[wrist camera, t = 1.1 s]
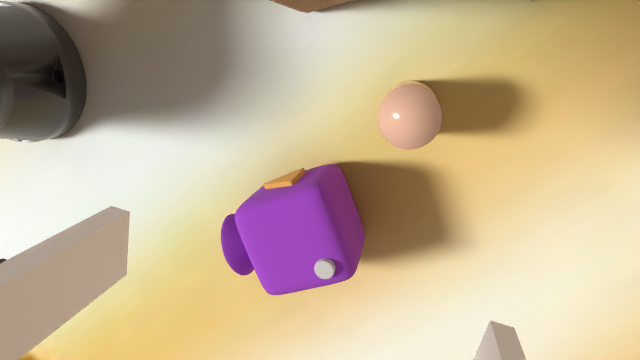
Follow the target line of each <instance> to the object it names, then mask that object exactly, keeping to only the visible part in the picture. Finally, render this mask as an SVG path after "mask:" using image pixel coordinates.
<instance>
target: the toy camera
mask: <svg viewBox="0 0 640 360" xmlns="http://www.w3.org/2000/svg"><path fill="white" fill-rule="evenodd" d="M364 240H365V233H364V229H363V225H362V222H361V219H360V216H359V214H358V211H357V208H356V205H355V202H354V200H353V197H352V194H351V191H350V189H349V186H348V183H347V180H346V178H345V176H344V173H343V171H342V170H341V168H340V167H339V166H337V165H335V164H327V165H323V166H319V167H315V168H312V169H309V170H306V171H305V170H304V168H302V169H299V170H297V171H294V172H292V173H289V174H287V175H285V176H282V177H280V178H277V179H275V180H272V181H270V182H268V183H265V184H264V186H263V187H261V188H260V189H259V190H258V191H256V192H255V193H254V194H253V195H252V196H250V197H249V198H248V199H247V200H246V201H245V202H244V203H243V204H242V205H241V206H240V207H239V208H238V209H237V211H236V213H235V214H230V215H228V216H227V217H226V218H225V220H224V222H223V224H222V229H221V244H222V249H223V253H224V256H225V259H226V261H227V263H228V264H229V266H230V267H231V268H232V269H233V270H234V271H235V272H236V273H238V274H240V275H248V274H250V273H251V272H252V271H253V270H254V269H255V272H256V274H257V276H258V278H259V280H260V282H261V284H262V286H263V288H264V289H265V291H266V292H267V293H269V294H271V295H282V294H287V293H293V292H298V291H302V290H307V289H312V288H316V287H321V286H326V285H330V284H334V283H338V282H342V281H345V280H347V279H349V278H351V277H352V276H353V275H354V273H355V271H356V269H357V266H358V263H359V259H360V256H361V252H362V248H363V245H364Z"/></svg>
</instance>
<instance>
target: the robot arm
mask: <svg viewBox="0 0 640 360" xmlns="http://www.w3.org/2000/svg"><path fill="white" fill-rule="evenodd" d="M85 91H86V86H85V76H84V70H83V66H82V63H81V60H80V57H79V54H78V52H77V50H76V48H75V46H74V44H73V42H72V41H71V39H70V37H69V36H68V35H67V33H66V32H65V31H64V29H63V28H62V27H61V26H60V25H59V24H58V23H57V22H56V21H55V20H54V19H53V18H52V17H50V16H49V15H48V14H46V13H45V12H43V11H41V10H40V9H38V8H35V7H33V6H30V5H27V4H22V3H14V2H6V1H0V138H1V139H10V140H14V141H20V142H37V141H42V140H47V139H51V138H55V137H58V136H60V135H62V134H64V133H66V132H67V131H68V130H70V129H71V128H72V127H73V125H74V124H75V123H76V121H77V120H78V118H79V116H80V114H81V112H82V109H83V105H84V101H85ZM129 216H130V212H129V211H126V210H122V209H119V208H116V207H112V206H111V207H109V208H107V209H105V210H103V211H101V212H99V213H97V214H95V215H93V216H91V217H89V218H87V219H85V220H83V221H82V222H80V223H78V224H76V225H74V226H72V227H70V228H68V229H66V230H64V231H62V232H60V233H58V234H56V235H55V236H53V237H51V238H49V239H47V240H45V241H43V242H41V243H39V244H37V245H35V246H33V247H31V248H29V249H27V250H26V251H24V252H22V253H20V254H18V255H16V256H14V257H12V258H10V259H8V260H6V259H0V360H19V359H20V358H21V357H22V356H24V355H25V354H26V353H28V352H29V351H30V350H31V349H33V348H34V347H35V346H36V345H38V344H39V343H40V342H42V341H43V340H44V339H45V338H47V337H48V336H49V335H50V334H52V333H53V332H54V331H55V330H57V329H58V328H59V327H61V326H62V325H63V324H64V323H66V322H67V321H68V320H69V319H71V318H72V317H73V316H75V315H76V314H77V313H78V312H80V311H81V310H82V309H83V308H85V307H86V306H87V305H89V304H90V303H91V302H92V301H94V300H95V299H96V298H97V297H99V296H100V295H101V294H103V293H104V292H105V291H106V290H108V289H109V288H110V287H111V286H113V285H114V284H115V283H117V282H118V281H119V280H120V279H122V278H123V277H124V276H125V275H126V273H127V254H128V235H129ZM474 360H526V358H525V355H524V353H523V350H522V347H521V345H520V342H519V339H518V337H517V334H516V331H515V329H514V328H513V327H510V326H506V325H503V324H500V323H497V322H493V321H490V322H489V325H488V327H487V329H486V332H485V334H484V336H483V339H482V341H481V343H480V346H479V348H478V350H477V353H476V355H475V357H474Z"/></svg>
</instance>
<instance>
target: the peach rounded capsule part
mask: <svg viewBox="0 0 640 360" xmlns="http://www.w3.org/2000/svg"><path fill="white" fill-rule="evenodd" d="M441 124H442V110H441V107H440V104H439V102H438V100H437V98H436V96H435V94H434V92H433V91H432V89H431V88H430V87H428V86H427V85H426V84H424V83H421V82H418V81H405V82H402V83H400V84H398V85H396V86H395V87H394V88H392V89H391V91H390V92H389V93H388V95H387V96H386V97H385V99H384V100H383V102H382V104H381V106H380V108H379V112H378V126H379V129H380V132H381V134H382V135H383V137H384V138H385V139H386V140H387V141H388V142H389V143H390V144H392V145H394V146H396V147H398V148H402V149H416V148H420V147H422V146H424V145H426V144H428V143H429V142H431V141H432V140H433V139H434V137H435V136H436V135H437V133H438V132H439V130H440V127H441Z"/></svg>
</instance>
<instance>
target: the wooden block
mask: <svg viewBox="0 0 640 360" xmlns="http://www.w3.org/2000/svg"><path fill="white" fill-rule="evenodd" d="M270 1H273V2H276V3H279V4H281V5H284V6H287V7H289V8H292V9H295V10H298V11H301V12H306V13H309V12H312V11H316V10H320V9H324V8H328V7H331V6H335V5H339V4H343V3H346V2H350V1H354V0H270Z"/></svg>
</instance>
